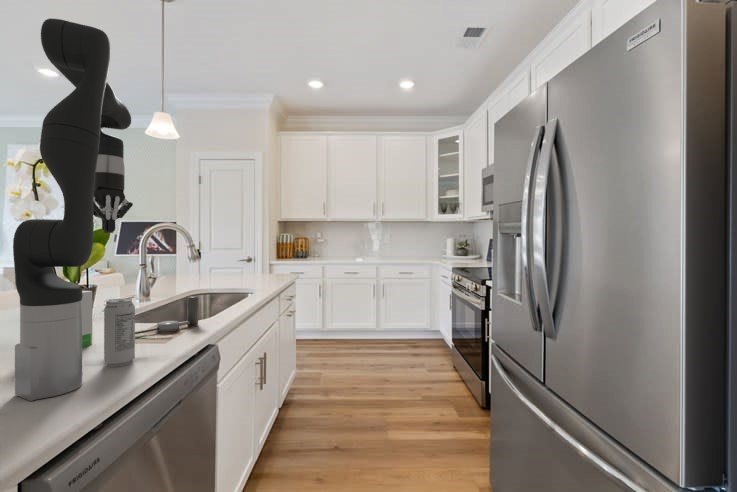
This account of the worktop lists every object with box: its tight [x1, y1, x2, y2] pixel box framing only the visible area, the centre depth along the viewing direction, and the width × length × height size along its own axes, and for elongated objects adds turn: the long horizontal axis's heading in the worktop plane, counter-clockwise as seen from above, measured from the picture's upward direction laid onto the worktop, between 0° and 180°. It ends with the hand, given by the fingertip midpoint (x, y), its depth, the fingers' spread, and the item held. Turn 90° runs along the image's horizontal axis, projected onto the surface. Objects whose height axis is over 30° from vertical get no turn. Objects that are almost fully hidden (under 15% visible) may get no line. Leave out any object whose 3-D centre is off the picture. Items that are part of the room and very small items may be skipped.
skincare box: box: [82, 290, 93, 348], centre depth 95 cm, size 8×7×16 cm
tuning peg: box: [135, 295, 199, 334], centre depth 113 cm, size 19×6×9 cm, turn 148°
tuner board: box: [135, 324, 198, 344], centre depth 111 cm, size 22×13×1 cm, turn 2°
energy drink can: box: [103, 298, 136, 368], centre depth 87 cm, size 6×6×15 cm
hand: (108, 232), depth 107 cm, fingers closed
